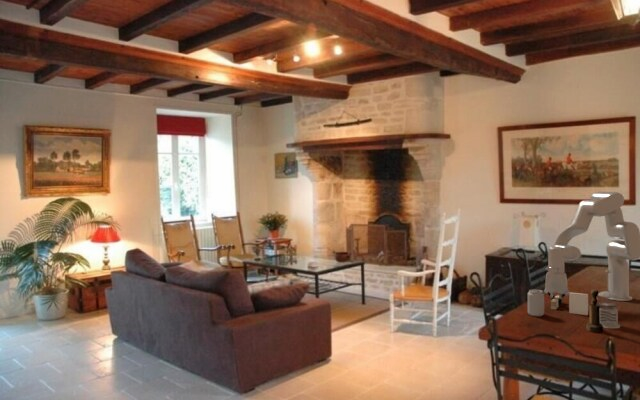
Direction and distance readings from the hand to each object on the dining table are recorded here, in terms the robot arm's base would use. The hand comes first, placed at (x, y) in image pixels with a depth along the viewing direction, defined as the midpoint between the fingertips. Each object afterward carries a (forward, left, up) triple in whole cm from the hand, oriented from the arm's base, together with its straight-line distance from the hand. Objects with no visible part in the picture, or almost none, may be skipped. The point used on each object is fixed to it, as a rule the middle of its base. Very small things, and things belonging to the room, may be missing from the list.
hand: (556, 305), depth 263 cm
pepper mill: (+36, +22, 0) cm, 42 cm away
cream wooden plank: (0, 0, 0) cm, 0 cm away
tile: (+11, +12, 0) cm, 16 cm away
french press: (+25, +25, 0) cm, 35 cm away
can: (+23, -5, 0) cm, 24 cm away
